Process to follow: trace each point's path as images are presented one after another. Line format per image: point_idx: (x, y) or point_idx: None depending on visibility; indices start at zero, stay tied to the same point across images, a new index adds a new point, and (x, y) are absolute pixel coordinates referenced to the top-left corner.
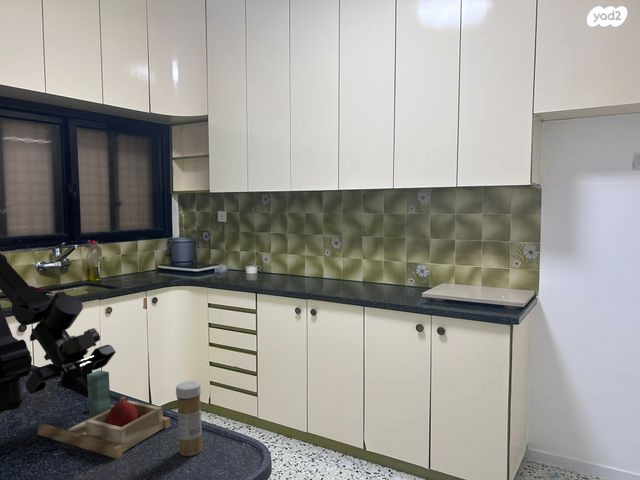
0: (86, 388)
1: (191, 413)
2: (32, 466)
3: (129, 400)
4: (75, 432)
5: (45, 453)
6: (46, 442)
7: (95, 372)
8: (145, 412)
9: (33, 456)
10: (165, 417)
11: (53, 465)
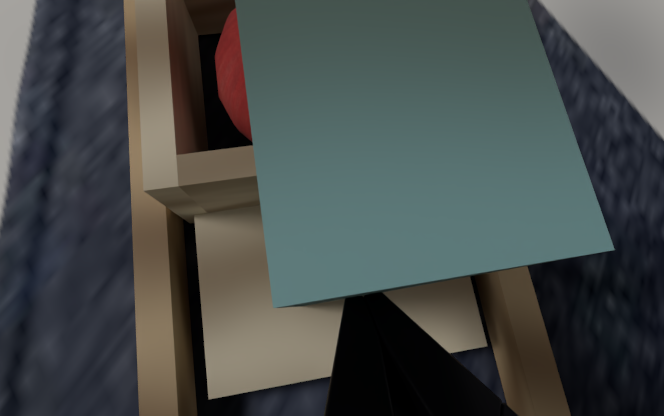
0: (445, 356)
1: None
2: (659, 203)
3: (144, 180)
4: (468, 277)
5: (595, 265)
6: (562, 374)
7: (416, 224)
8: (179, 43)
9: (639, 284)
10: (130, 3)
11: (599, 142)
